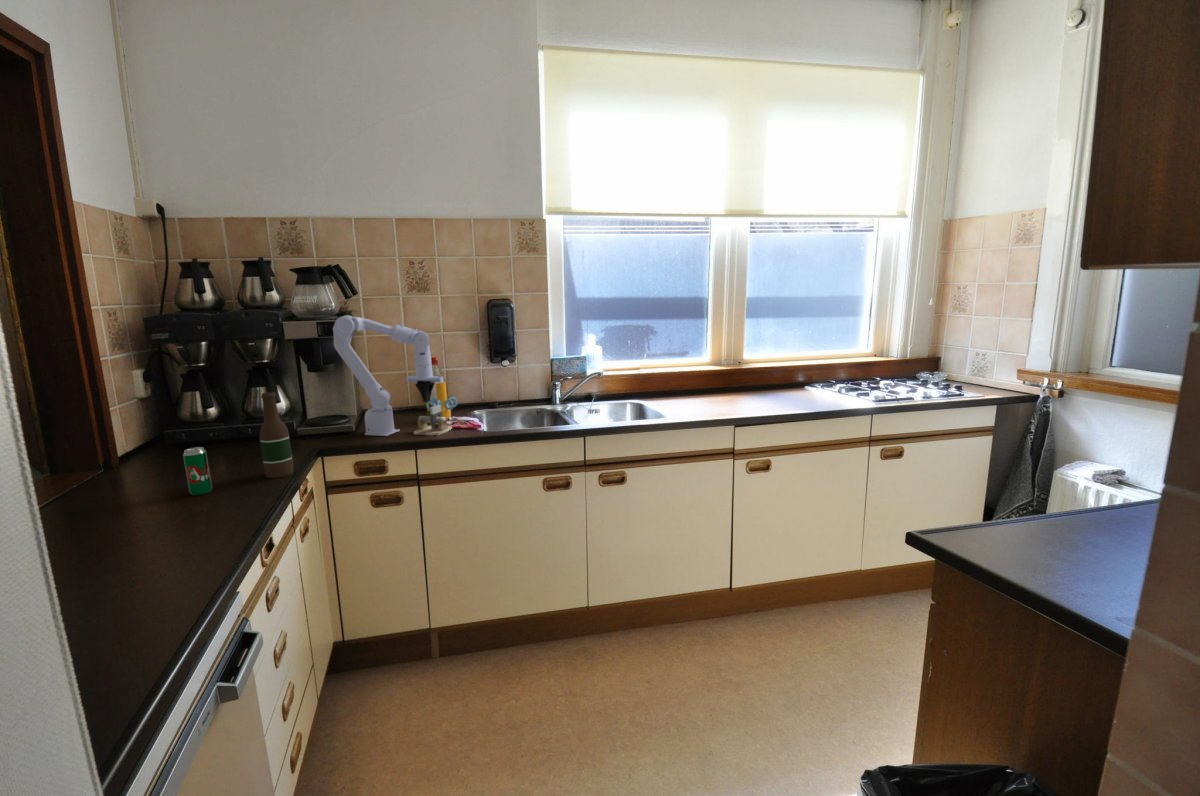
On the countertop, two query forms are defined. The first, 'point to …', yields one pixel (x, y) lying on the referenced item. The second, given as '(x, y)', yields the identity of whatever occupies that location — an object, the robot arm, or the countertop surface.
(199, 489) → the soda can
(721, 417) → the countertop surface
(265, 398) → the beer bottle
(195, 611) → the countertop surface
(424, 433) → the pipe rig
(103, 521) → the countertop surface
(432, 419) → the grey bent plate
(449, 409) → the yellow blue ringed piece
